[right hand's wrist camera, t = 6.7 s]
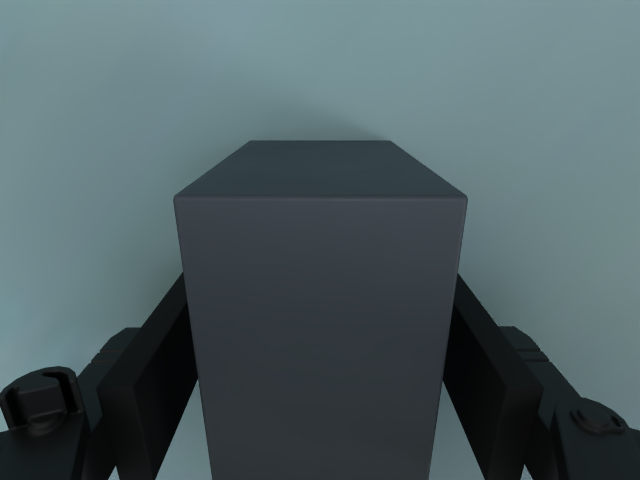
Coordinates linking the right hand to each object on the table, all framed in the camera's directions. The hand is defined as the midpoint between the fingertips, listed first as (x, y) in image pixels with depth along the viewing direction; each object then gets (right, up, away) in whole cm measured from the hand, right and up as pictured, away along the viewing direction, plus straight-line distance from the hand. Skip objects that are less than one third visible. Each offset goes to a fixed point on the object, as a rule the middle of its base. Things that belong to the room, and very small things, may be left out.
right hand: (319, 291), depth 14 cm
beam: (0, -28, +12) cm, 30 cm away
